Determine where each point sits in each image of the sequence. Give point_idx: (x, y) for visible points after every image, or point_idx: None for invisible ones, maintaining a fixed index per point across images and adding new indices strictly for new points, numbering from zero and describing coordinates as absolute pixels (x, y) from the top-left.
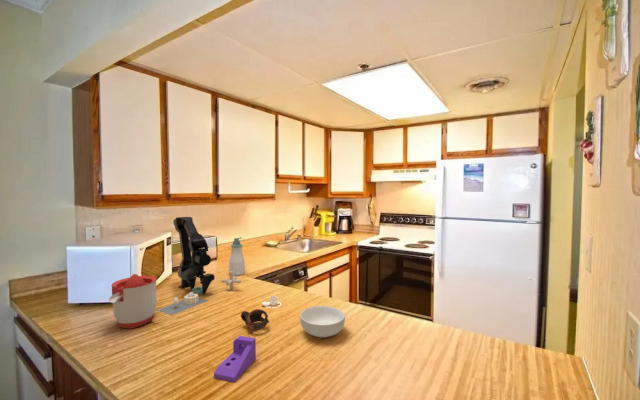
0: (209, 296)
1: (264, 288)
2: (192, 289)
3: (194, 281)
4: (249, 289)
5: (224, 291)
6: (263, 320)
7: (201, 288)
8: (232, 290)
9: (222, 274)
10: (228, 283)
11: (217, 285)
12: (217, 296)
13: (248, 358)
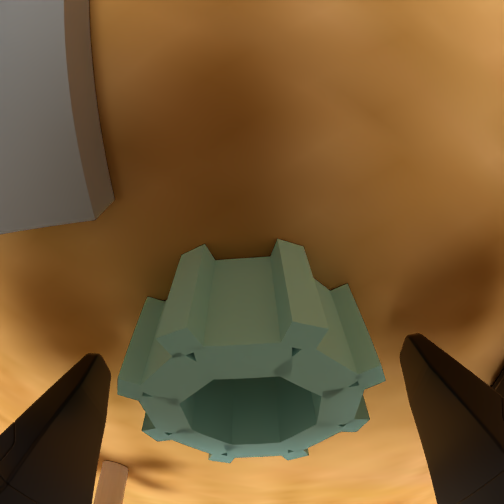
0: (66, 353)
1: None
2: (367, 355)
3: (446, 487)
4: None
5: (124, 451)
6: None
7: (240, 436)
8: (103, 464)
9: (418, 492)
10: None
11: (311, 477)
12: (29, 376)
13: None
